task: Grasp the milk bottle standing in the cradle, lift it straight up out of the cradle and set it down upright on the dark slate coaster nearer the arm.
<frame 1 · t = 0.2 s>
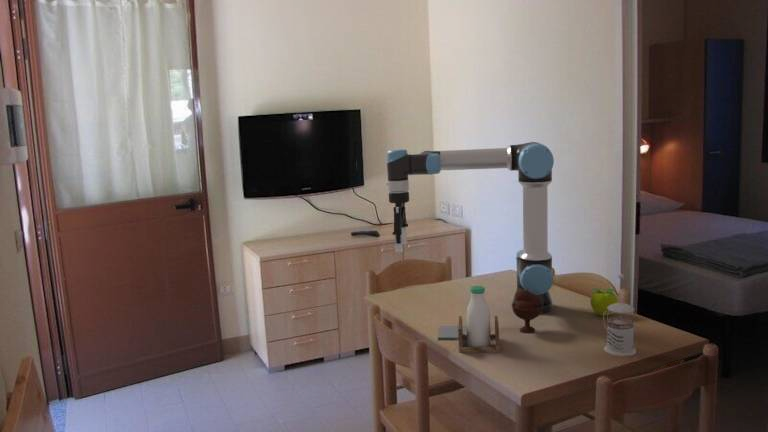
hand: (401, 248, 238), 28 cm above the table, fingers open, 13 cm apart
cradle: (479, 345, 212), on the table
coaster: (455, 333, 224), on the table
ice cream bowl: (527, 331, 224), on the table
fruit: (603, 315, 236), on the table
french press: (618, 349, 203), on the table
milk bottle: (479, 345, 212), resting in cradle
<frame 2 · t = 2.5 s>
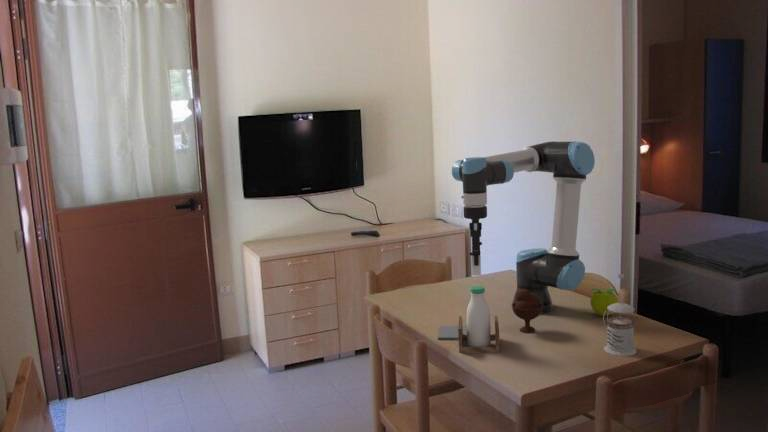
hand: (476, 269, 208), 26 cm above the table, fingers open, 13 cm apart
nothing on the table moved.
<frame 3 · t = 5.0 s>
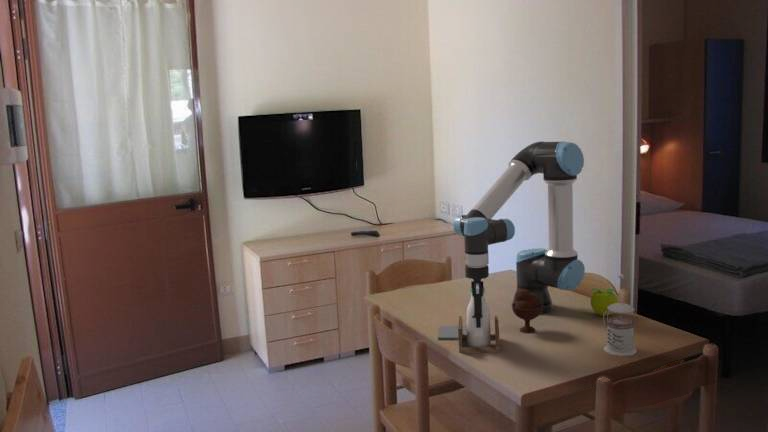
hand: (478, 331, 212), 5 cm above the table, fingers closed on milk bottle, 8 cm apart
milk bottle: (479, 345, 212), resting in cradle, touching gripper
everything else where it was.
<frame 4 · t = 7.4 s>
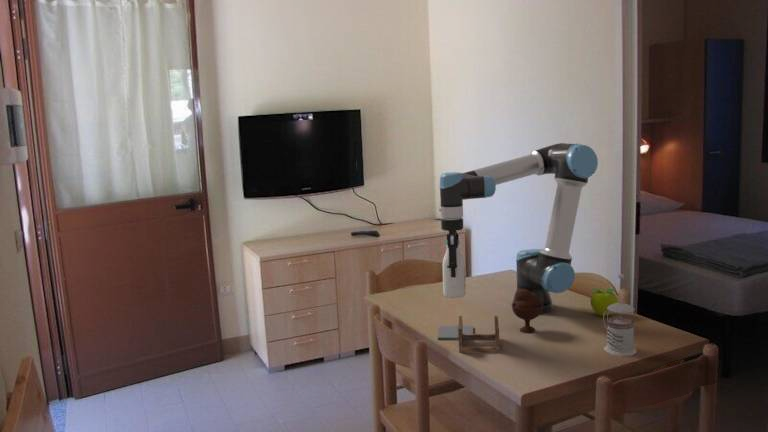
hand: (454, 282, 221), 19 cm above the table, fingers closed on milk bottle, 8 cm apart
milk bottle: (454, 296, 222), point 14 cm above the table, touching gripper
everything else where it was.
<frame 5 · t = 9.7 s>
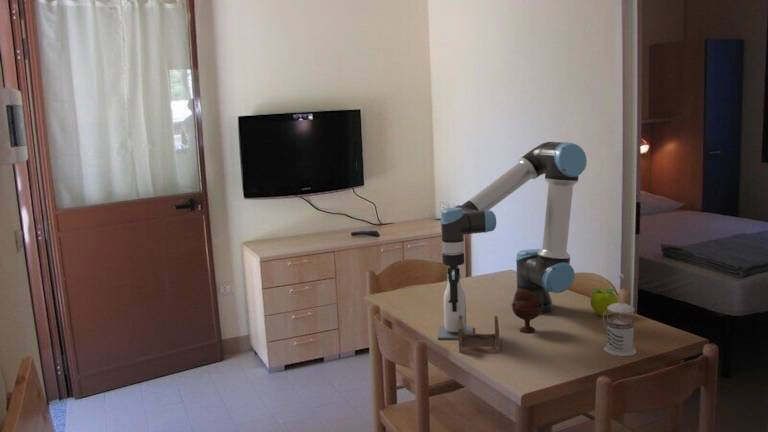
hand: (455, 316, 223), 6 cm above the table, fingers closed on milk bottle, 8 cm apart
milk bottle: (455, 329, 224), point 2 cm above the table, touching gripper
everything else where it was.
when the fingers open (6 cm above the table, at t = 9.9 s): milk bottle stays where it is, resting on coaster.
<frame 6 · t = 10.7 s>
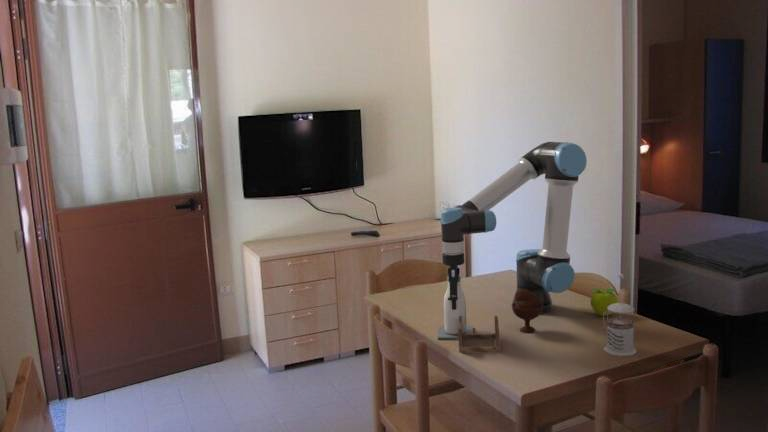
hand: (455, 311, 223), 8 cm above the table, fingers open, 13 cm apart
milk bottle: (455, 331, 224), point 1 cm above the table, touching coaster
everything else where it was.
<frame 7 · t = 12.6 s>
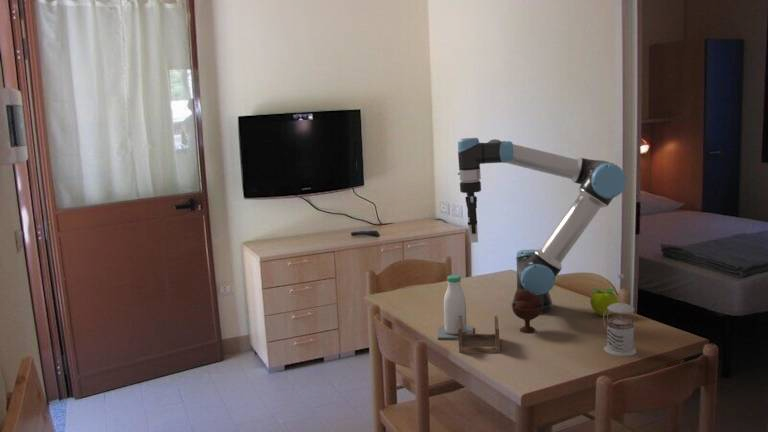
hand: (473, 238, 233), 31 cm above the table, fingers open, 13 cm apart
nothing on the table moved.
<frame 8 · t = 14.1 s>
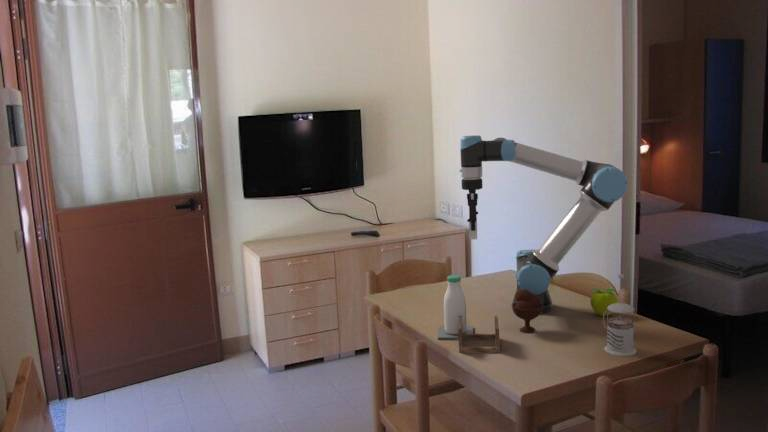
hand: (473, 235, 235), 32 cm above the table, fingers open, 13 cm apart
nothing on the table moved.
at the end: milk bottle inside the target area on the coaster (0.1 cm from its centre), point 0.6 cm above the coaster's base; milk bottle tilted 0°; the gripper is holding nothing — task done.
